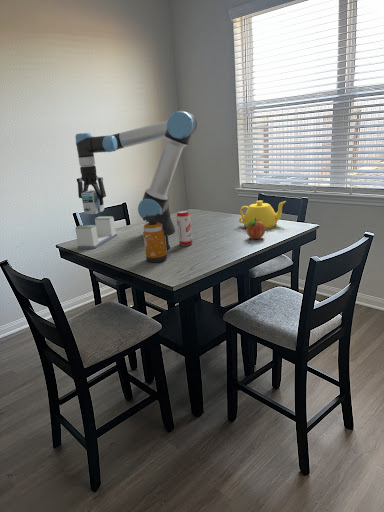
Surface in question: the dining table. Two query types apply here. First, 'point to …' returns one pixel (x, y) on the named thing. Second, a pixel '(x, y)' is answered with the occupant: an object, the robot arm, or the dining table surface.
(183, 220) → the beer can
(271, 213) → the teapot
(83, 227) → the white u-shaped holder
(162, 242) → the canister
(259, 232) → the fruit
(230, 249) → the dining table surface
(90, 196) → the light bulb box
